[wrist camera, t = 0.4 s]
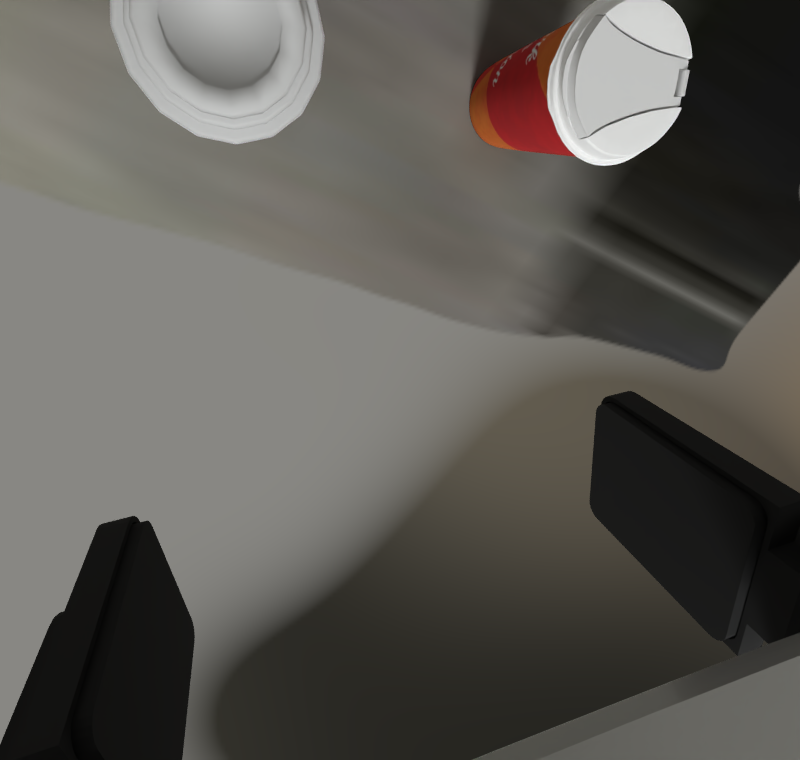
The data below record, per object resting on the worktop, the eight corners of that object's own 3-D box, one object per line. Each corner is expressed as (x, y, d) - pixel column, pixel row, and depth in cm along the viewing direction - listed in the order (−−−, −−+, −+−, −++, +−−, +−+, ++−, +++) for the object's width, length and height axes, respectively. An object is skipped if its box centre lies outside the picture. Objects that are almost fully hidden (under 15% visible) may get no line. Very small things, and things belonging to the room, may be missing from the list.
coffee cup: (278, 170, 34) (294, 176, 24) (133, 109, 31) (75, 85, 20) (322, 25, 32) (360, -39, 21) (168, -59, 28) (123, -187, 18)
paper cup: (557, 46, 36) (718, -10, 24) (544, 163, 39) (681, 165, 27) (456, 39, 34) (574, -26, 22) (450, 162, 37) (552, 166, 25)
